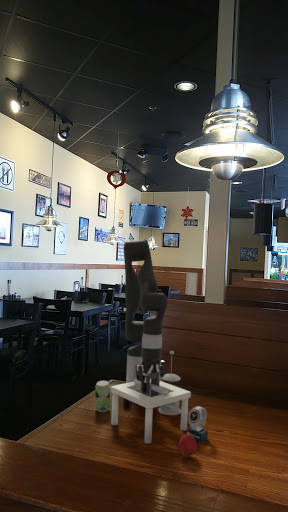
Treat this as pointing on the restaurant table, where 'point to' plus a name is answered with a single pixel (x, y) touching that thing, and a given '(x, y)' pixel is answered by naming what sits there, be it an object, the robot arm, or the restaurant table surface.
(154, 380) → the grey u-shaped bracket
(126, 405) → the mobile phone
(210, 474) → the restaurant table surface
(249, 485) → the restaurant table surface
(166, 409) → the french press
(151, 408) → the square frame stand
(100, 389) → the beverage can
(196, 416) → the watch
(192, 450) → the onion
